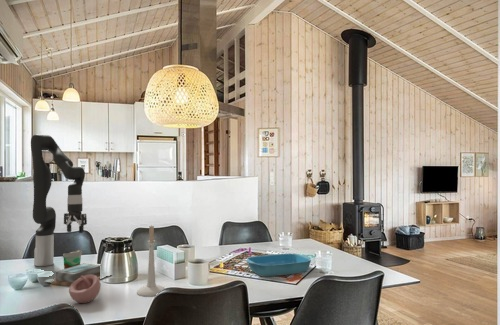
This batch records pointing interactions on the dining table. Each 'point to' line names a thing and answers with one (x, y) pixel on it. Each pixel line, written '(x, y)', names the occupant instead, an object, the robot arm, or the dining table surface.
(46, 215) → the robot arm
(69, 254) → the food container
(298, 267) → the casserole dish
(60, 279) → the plinth
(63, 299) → the dining table surface
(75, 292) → the mortar and pestle
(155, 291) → the candlestick
